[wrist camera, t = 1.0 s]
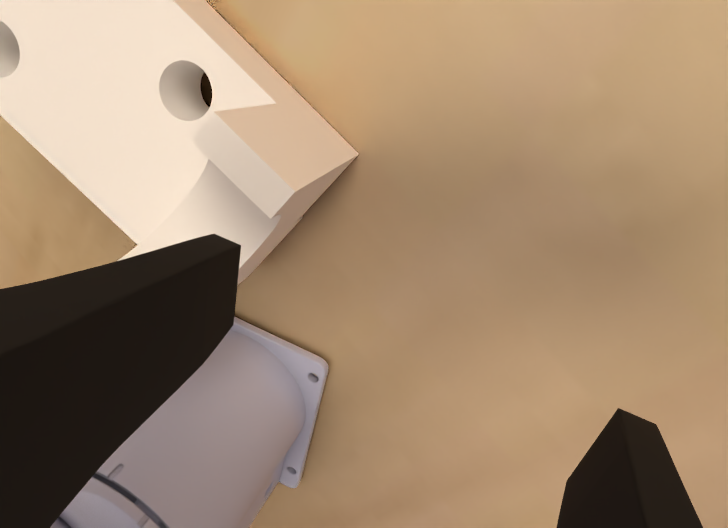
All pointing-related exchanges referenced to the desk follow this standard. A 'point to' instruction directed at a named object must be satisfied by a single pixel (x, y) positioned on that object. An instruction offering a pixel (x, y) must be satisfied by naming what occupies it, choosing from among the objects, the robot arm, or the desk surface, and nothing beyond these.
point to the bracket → (165, 120)
